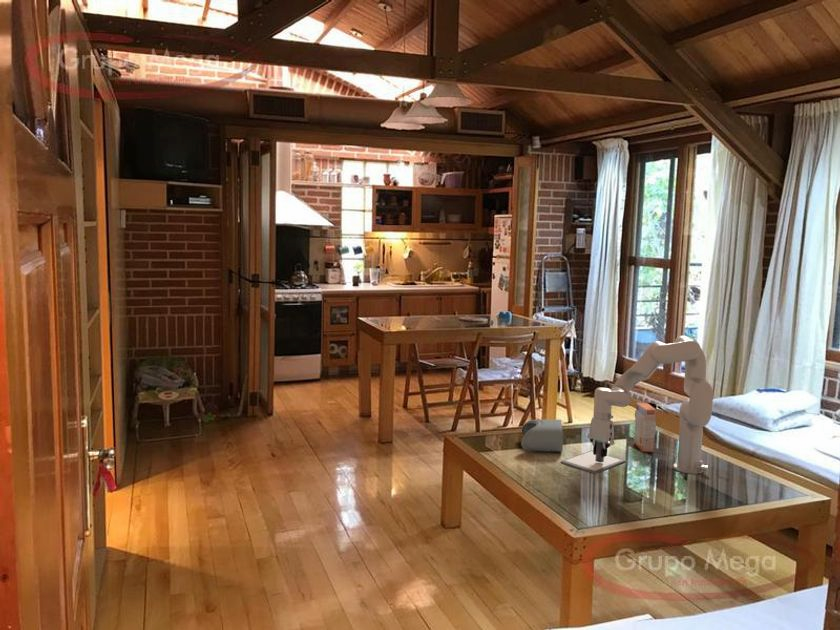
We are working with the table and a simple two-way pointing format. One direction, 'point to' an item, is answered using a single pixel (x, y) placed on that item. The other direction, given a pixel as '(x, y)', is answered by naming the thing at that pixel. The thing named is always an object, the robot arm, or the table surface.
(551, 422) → the grey rounded block
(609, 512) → the table surface
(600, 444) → the marker
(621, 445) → the table surface
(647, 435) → the cracker box
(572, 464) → the notepad
